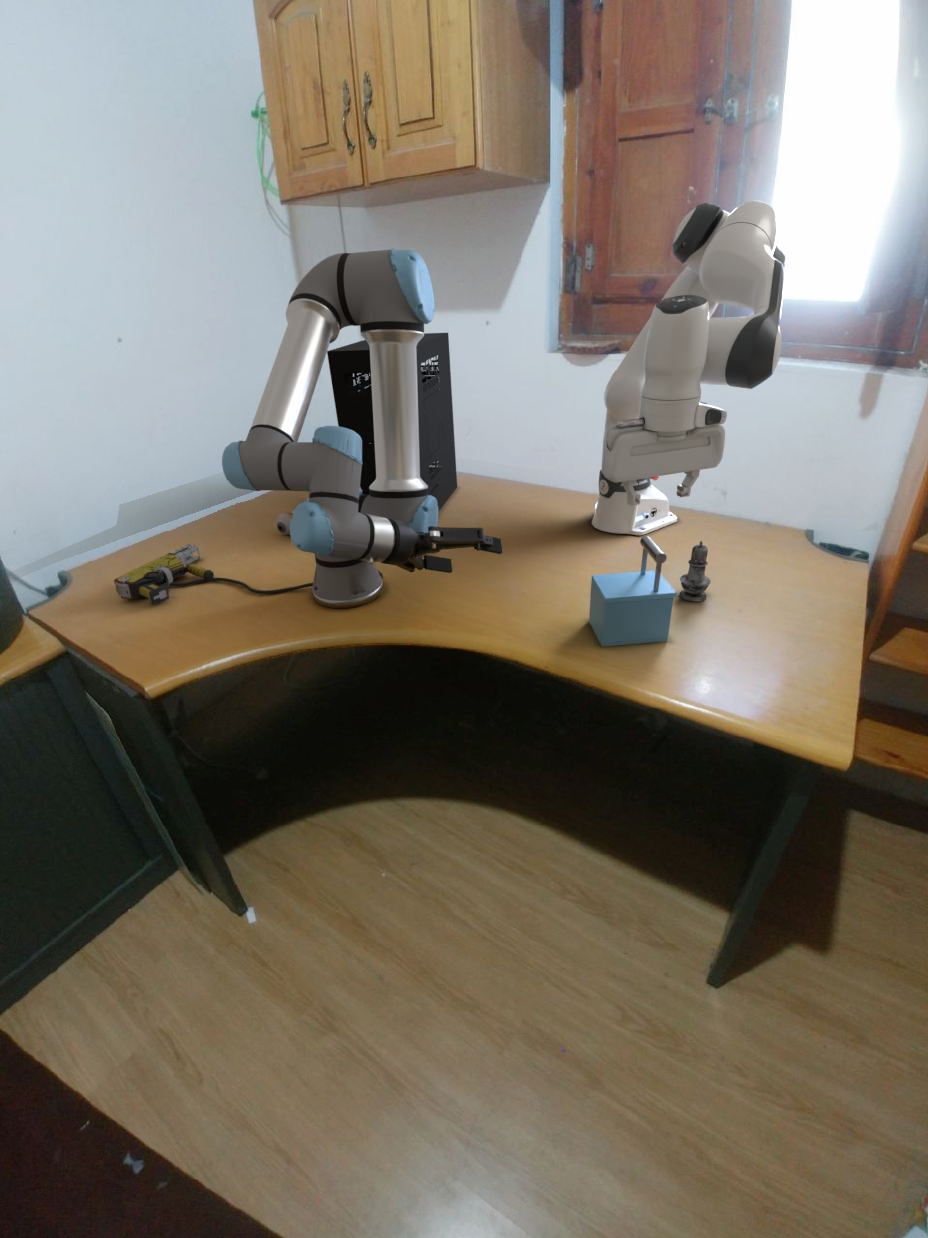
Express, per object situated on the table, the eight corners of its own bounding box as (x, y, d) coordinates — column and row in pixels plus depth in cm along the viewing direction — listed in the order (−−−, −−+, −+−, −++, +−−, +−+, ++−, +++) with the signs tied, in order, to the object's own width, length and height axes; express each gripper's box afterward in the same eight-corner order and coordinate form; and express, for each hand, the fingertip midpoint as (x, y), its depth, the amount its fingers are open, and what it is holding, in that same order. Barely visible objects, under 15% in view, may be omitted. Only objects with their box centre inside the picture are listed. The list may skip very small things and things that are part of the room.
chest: (650, 616, 117) (655, 575, 113) (667, 641, 109) (673, 598, 105) (588, 621, 117) (591, 580, 113) (601, 646, 109) (605, 603, 104)
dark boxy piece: (424, 530, 162) (407, 348, 139) (353, 528, 166) (326, 351, 144) (457, 486, 193) (448, 332, 171) (397, 485, 198) (380, 334, 175)
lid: (657, 574, 113) (662, 532, 109) (675, 597, 105) (682, 553, 101) (591, 579, 113) (593, 538, 108) (605, 603, 104) (608, 559, 100)
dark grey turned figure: (710, 602, 120) (719, 547, 114) (679, 601, 121) (687, 546, 115) (706, 589, 125) (715, 535, 119) (676, 588, 126) (683, 534, 120)
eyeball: (273, 537, 164) (268, 516, 161) (287, 528, 169) (282, 508, 166) (291, 539, 161) (286, 518, 158) (305, 530, 166) (301, 510, 163)
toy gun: (236, 552, 148) (186, 541, 152) (163, 592, 128) (107, 579, 132) (239, 569, 150) (189, 559, 154) (167, 611, 130) (112, 598, 134)
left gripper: (344, 581, 108) (433, 590, 123) (433, 540, 90) (526, 557, 105) (341, 541, 109) (430, 555, 124) (429, 493, 92) (521, 516, 106)
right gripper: (618, 426, 89) (611, 515, 96) (736, 411, 93) (722, 497, 100) (598, 418, 94) (593, 503, 101) (710, 404, 99) (698, 486, 106)
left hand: (474, 556), depth 115 cm, fingers open, 13 cm apart
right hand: (658, 500), depth 101 cm, fingers open, 8 cm apart
